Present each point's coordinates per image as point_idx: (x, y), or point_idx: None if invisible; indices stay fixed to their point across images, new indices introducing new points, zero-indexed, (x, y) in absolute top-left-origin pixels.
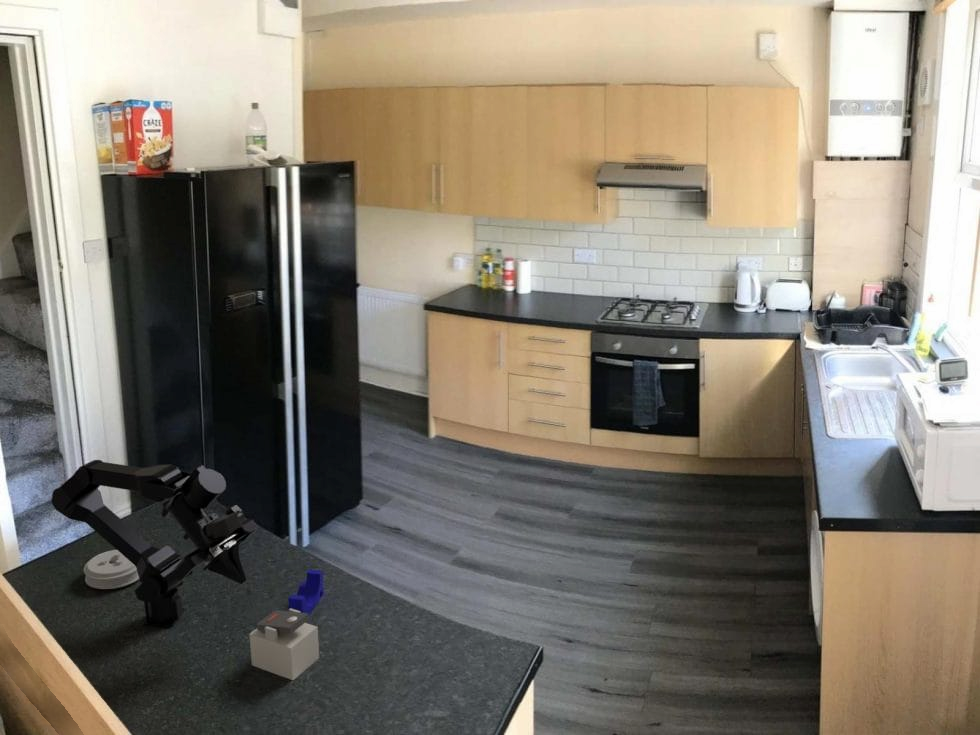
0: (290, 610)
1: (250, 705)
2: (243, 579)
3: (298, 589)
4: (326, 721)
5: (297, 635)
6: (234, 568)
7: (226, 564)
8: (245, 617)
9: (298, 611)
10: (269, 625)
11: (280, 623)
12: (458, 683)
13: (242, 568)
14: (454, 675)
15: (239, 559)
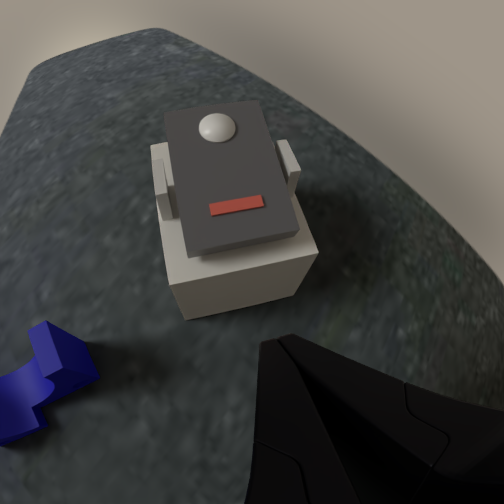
0: (166, 186)
1: (359, 192)
2: (287, 340)
3: (5, 437)
4: (280, 97)
5: None
6: (369, 395)
7: (480, 405)
8: (170, 500)
9: (155, 164)
10: (280, 170)
11: (252, 144)
12: (110, 63)
13: (259, 400)
14: (97, 71)
15: (257, 481)
